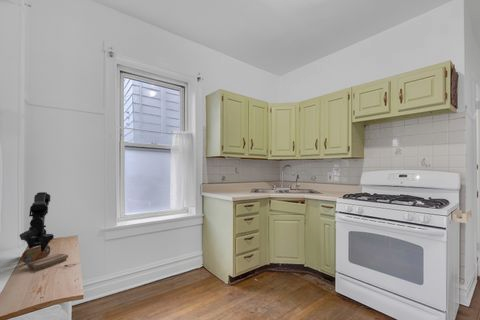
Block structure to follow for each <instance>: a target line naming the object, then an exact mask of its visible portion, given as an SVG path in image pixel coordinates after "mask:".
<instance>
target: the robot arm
mask: <svg viewBox="0 0 480 320" xmlns="http://www.w3.org/2000/svg"><path fill="white" fill-rule="evenodd" d="M33 197H34V198H33V199H34V200H33V201H34V202H33V203H32V204H31V205H30V209H29V217H31V219H30V222H29V228H28V230H26V231H24V232H22V233H20V234H19V239H20V240H21V241H24V242H26V243H27V247H28V249H30V248H33V247H36V246H39V245H41V252H43V251H44V250H45V248H46V246H47V245H48V246H49V244H50V242H51V241H52V240H53V239H55V238H54V234H53V233H47V230H46V226H47V225H45V219H46V216H47V214H48V212H49V204H50V202H51V195H50V194H49V193H47V192H45V191H44V192H43V191H41V192H40V191H39V192H37V193H36V194H35V195H34V196H33Z"/></svg>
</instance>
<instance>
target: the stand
mask: <svg viewBox="0 0 480 320" xmlns="http://www.w3.org/2000/svg"><path fill="white" fill-rule="evenodd" d="M67 258H69V255H68V254H65V253H54V254H52V255H48V256H47V257H46V258H43V259H40V260H37V261H33V262H30V263H26V267H28V270H33V271H41V270H43V269H46V268H49V267H51V266H54V265H56V264H59V263H62V262H64V261H67Z"/></svg>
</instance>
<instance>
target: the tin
mask: <svg viewBox="0 0 480 320" xmlns="http://www.w3.org/2000/svg"><path fill="white" fill-rule="evenodd" d="M50 253H51V247H50V245H49V244H48V245H47V246H46V248H45V250H44V251H43V252H41V245H39V246H36V247H33V248H30V249H29V248H27V249H26V250H24V251H23V253H22V255H21V260H22V263H24V264H27V263H30V262H33V261H37V260H40V259H43V258H46V257H49V256H50Z"/></svg>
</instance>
